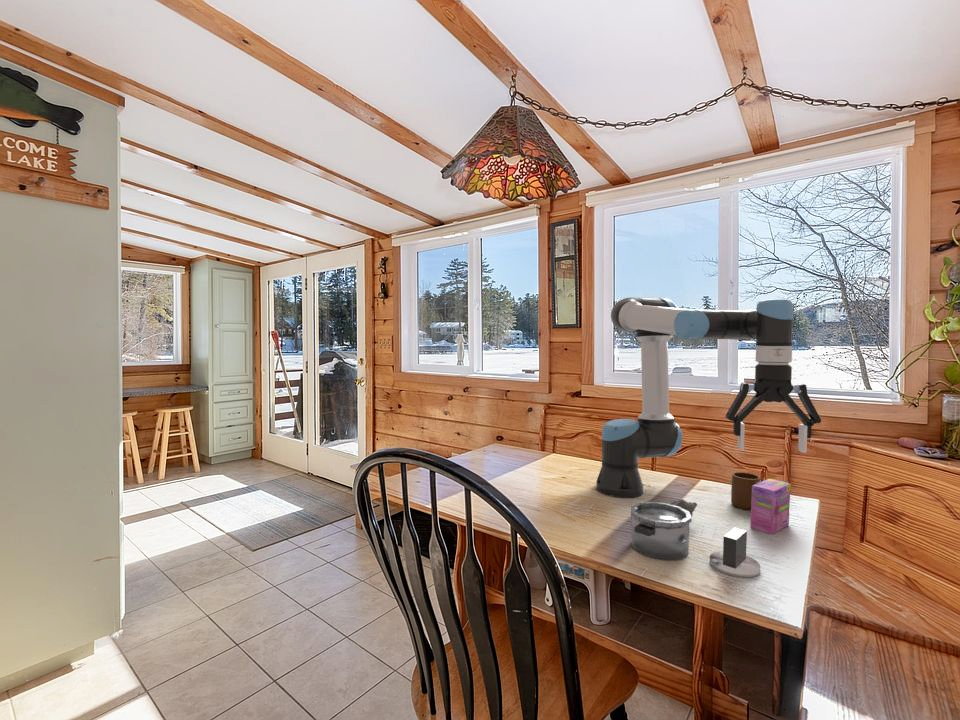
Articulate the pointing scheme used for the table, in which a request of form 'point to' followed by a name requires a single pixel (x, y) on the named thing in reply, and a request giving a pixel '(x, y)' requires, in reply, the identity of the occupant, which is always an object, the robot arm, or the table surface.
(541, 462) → the table surface
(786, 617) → the table surface
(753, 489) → the box
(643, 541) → the pot
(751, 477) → the mug
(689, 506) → the fossil
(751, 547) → the table surface
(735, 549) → the lid
